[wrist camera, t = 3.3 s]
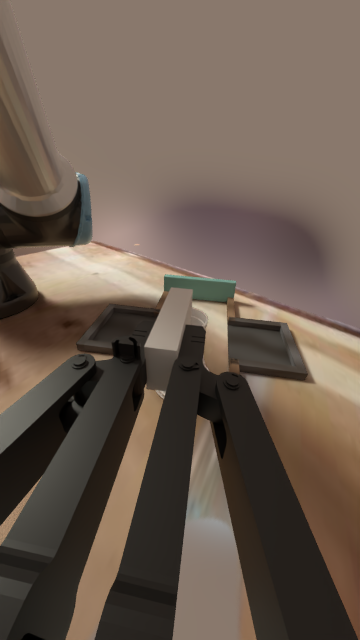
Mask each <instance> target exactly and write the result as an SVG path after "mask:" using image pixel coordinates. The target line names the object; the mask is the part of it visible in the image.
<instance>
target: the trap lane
mask: <svg viewBox="0 0 360 640" xmlns="http://www.w3.org/2000/svg"><path fill="white" fill-rule="evenodd" d="M168 293H169V291H164V292H163V294H162V296H161V298H160V300H159V302H158V304H157V307H156V309H153V308H143V307H134V306H125V305H116V304H109V305H108V306H107V308H106V309H105V310H104V311H103V312H102V314H101V315H100V316H99V317H98V318H97V319H96V321H95V322H94V323H93V324H92V325H91V327H90V328H89V329H88V330H87V331H86V332H85V334H84V335H83V336H82V337H81V338H80V340H79V341H78V342H77V343H76V345H77V349H78V350H82V351H90V352H97V353H105V354H113V349H112V343H111V342H112V341H113V340H114V339H116V338H118V337H120V336H125V335H130V336H132V334H133V332H134V331H135V329H136V327H137V325H138V324H139V323H141V322H142V321H144V320H145V321H154V322H156V319H157V317H158V315H159V313H160V311H161V308H162V306H163V304H164V302H165V300H166V297H167V295H168ZM227 322H228V355H229V372H234V373H237V374H240V372H248V373H255V374H263V375H270V376H278V377H285V378H293V379H300V380H305V379H306V377H307V375H308V373H307V371H306V368H305V366H304V363H303V361H302V359H301V356H300V354H299V351H298V349H297V347H296V344H295V342H294V339H293V337H292V335H291V332H290V330H289V327H288V325H287V323H281V322H272V321H263V320H254V319H245V318H235V310H234V298H229V297H228V299H227Z"/></svg>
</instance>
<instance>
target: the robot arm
mask: <svg viewBox="0 0 360 640" xmlns="http://www.w3.org/2000/svg"><path fill="white" fill-rule="evenodd" d="M91 239H92V218H91V202H90V192H89V184H88V179H87V177H86V176H85V175H83V174H79V173H78V172H75V171H74V168H73V167H72V165H71V164H70V162H69V161H68V160H67V159H66V158H65V157H64V156H63V155H62V154H60V153H59V152H58V151H57V147H56V144H55V141H54V138H53V135H52V132H51V129H50V125H49V122H48V119H47V116H46V113H45V110H44V106H43V103H42V100H41V97H40V93H39V90H38V87H37V84H36V81H35V78H34V74H33V72H32V68H31V65H30V62H29V58H28V56H27V52H26V49H25V46H24V43H23V39H22V36H21V33H20V30H19V27H18V23H17V20H16V17H15V14H14V11H13V8H12V4H11V1H10V0H0V319H1V318H4V317H7V316H10V315H13V314H16V313H18V312H20V311H22V310H24V309H26V308H28V307H29V306H31V305H32V304H33V303H34V302H35V301H36V300H37V299H38V296H39V295H38V291H37V288H36V285H35V283H34V282H33V281H32V279H31V278H30V277H29V275H28V274H27V273H26V271H25V270H24V269H23V268H22V266H21V265H20V264H19V262H18V261H17V260H16V257H15V255H14V252H13V249H12V248H27V247H53V246H69V247H74V246H77V245H86V244H88V243H90V241H91ZM192 294H193V289H183V288H172V287H171V289H170V291H169V293H168V295H167V297H166V300H165V302H164V304H163V306H162V308H161V311H160V313H159V315H158V317H157V319H156V322H154V321H145V320H144V321H142V322H141V323H139V324H138V325H137V327H136V329H135V331H134V332H133V334H132V336H130V335H125V336H120V337H118V338H116V339H114V340H113V341H112V342H111V343H112V349H113V358H112V359H109V360H102V361H95V359H94V357H93V356H92V355H90V354H78V355H75V356H73V357H71V358H70V359H68V360H67V361H66V362H64V363H63V364H62V365H61V366H59V367H58V368H57V369H56V370H55V371H53V372H52V373H51V374H50V375H48V376H47V377H46V378H45V379H43V380H42V381H41V382H40V383H39V384H37V385H36V386H35V387H34V388H32V389H31V390H30V391H29V392H27V393H26V394H25V395H24V396H23V397H21V398H20V399H19V400H18V401H16V402H15V403H14V404H13V405H12V406H10V407H9V408H8V409H7V410H5V411H4V412H3V413H2V414H0V525H1V524H2V523H3V522H4V521H5V520H6V518H7V517H8V516H9V515H10V514H11V512H12V511H13V510H14V509H15V508H16V506H17V505H18V504H19V503H20V502H21V500H22V499H23V498H24V497H25V496H26V494H27V493H28V492H29V491H30V490H31V488H32V487H33V486H34V485H35V484H36V483H37V481H38V480H39V479H40V478H41V477H42V478H41V479H40V481H39V483H38V484H37V486H36V488H35V490H34V491H33V493H32V495H31V496H30V498H29V500H28V501H27V503H26V505H25V506H24V508H23V510H22V511H21V513H20V515H19V516H18V518H17V520H16V522H15V523H14V525H13V527H12V528H11V530H10V532H9V533H8V535H7V537H6V538H5V540H4V541H3V543H2V544H1V546H0V640H65V639H66V636H67V633H68V630H69V627H70V623H71V620H72V617H73V613H74V608H75V602H76V594H77V589H78V585H79V582H80V579H81V576H82V573H83V570H84V567H85V565H86V562H87V559H88V556H89V553H90V550H91V547H92V544H93V542H94V539H95V536H96V533H97V530H98V527H99V524H100V522H101V519H102V516H103V513H104V510H105V507H106V504H107V501H108V499H109V496H110V493H111V490H112V487H113V484H114V481H115V479H116V476H117V473H118V470H119V467H120V464H121V461H122V458H123V456H124V453H125V450H126V447H127V444H128V441H129V438H130V435H131V433H132V430H133V427H134V424H135V421H136V418H137V415H138V413H139V410H140V407H141V404H142V401H143V398H144V387H145V384H146V385H147V389H152V390H159V391H166V393H165V397H164V401H163V404H162V408H161V412H160V416H159V420H158V423H157V427H156V431H155V435H154V439H153V442H152V446H151V450H150V454H149V458H148V461H147V465H146V469H145V473H144V477H143V480H142V484H141V488H140V492H139V496H138V499H137V503H136V507H135V511H134V514H133V518H132V522H131V526H130V530H129V533H128V537H127V541H126V545H125V549H124V552H123V556H122V560H121V564H120V567H119V571H118V574H117V577H116V579H115V581H114V583H113V585H112V587H111V589H110V591H109V594H108V597H107V600H106V602H105V605H104V609H103V612H102V615H101V619H100V622H99V626H98V630H97V633H96V637H95V640H172V637H173V628H174V618H175V610H176V600H177V591H178V582H179V573H180V564H181V555H182V545H183V537H184V528H185V519H186V510H187V500H188V491H189V482H190V473H191V464H192V455H193V446H194V437H195V427H196V418H197V415H199V416H201V417H203V418H205V419H207V420H210V424H211V428H212V433H213V438H214V442H215V447H216V452H217V456H218V461H219V466H220V470H221V475H222V480H223V484H224V489H225V494H226V498H227V503H228V508H229V512H230V517H231V522H232V526H233V531H234V536H235V540H236V545H237V550H238V554H239V559H240V564H241V568H242V573H243V578H244V582H245V587H246V592H247V596H248V601H249V606H250V610H251V615H252V620H253V624H254V629H255V634H256V638H257V640H358V638H357V636H356V633H355V631H354V629H353V626H352V624H351V622H350V619H349V617H348V615H347V612H346V610H345V608H344V605H343V603H342V601H341V598H340V596H339V594H338V592H337V589H336V587H335V585H334V582H333V580H332V578H331V575H330V573H329V571H328V568H327V566H326V564H325V561H324V559H323V557H322V554H321V552H320V550H319V547H318V545H317V543H316V541H315V538H314V536H313V534H312V531H311V529H310V527H309V524H308V522H307V520H306V517H305V515H304V513H303V510H302V508H301V506H300V503H299V501H298V499H297V496H296V494H295V492H294V489H293V487H292V485H291V483H290V480H289V478H288V476H287V473H286V471H285V469H284V466H283V464H282V462H281V459H280V457H279V455H278V452H277V450H276V448H275V445H274V443H273V441H272V438H271V436H270V434H269V431H268V429H267V427H266V425H265V422H264V420H263V418H262V415H261V413H260V411H259V408H258V406H257V404H256V401H255V399H254V397H253V394H252V392H251V390H250V387H249V385H248V383H247V381H246V380H245V378H244V377H242V376H241V375H240V374H237V373H234V372H224V373H221V374H220V375H219V376H218V375H216V374H213V373H211V372H210V371H208V370H207V369H206V368H205V367H204V365H203V353H204V344H205V334H206V331H205V329H204V328H203V326H196V325H190V324H191V309H192ZM42 475H43V476H42Z"/></svg>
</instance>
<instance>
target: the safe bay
mask: <svg viewBox="0 0 360 640" xmlns="http://www.w3.org/2000/svg"><path fill="white" fill-rule="evenodd" d="M171 287H172V288H183V289H193V294H192V299H199V300H209V301H218V302H227V299H228V297H229V298H234V292H235V287H236V281H231V280H220V279H209V278H198V277H187V276H176V275H165V276H164V291H170V289H171Z"/></svg>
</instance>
